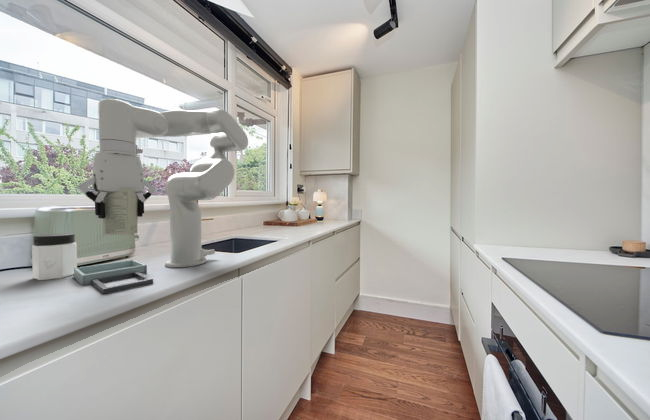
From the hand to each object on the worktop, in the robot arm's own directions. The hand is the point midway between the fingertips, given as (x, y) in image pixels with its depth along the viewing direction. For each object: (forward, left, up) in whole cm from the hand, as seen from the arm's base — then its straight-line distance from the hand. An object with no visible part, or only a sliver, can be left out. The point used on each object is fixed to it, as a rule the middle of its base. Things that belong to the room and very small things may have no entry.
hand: (121, 216), depth 66 cm
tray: (0, -11, -18) cm, 20 cm away
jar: (+10, -22, -18) cm, 30 cm away
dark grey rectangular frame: (0, +2, -18) cm, 18 cm away
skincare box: (0, 0, -5) cm, 5 cm away
